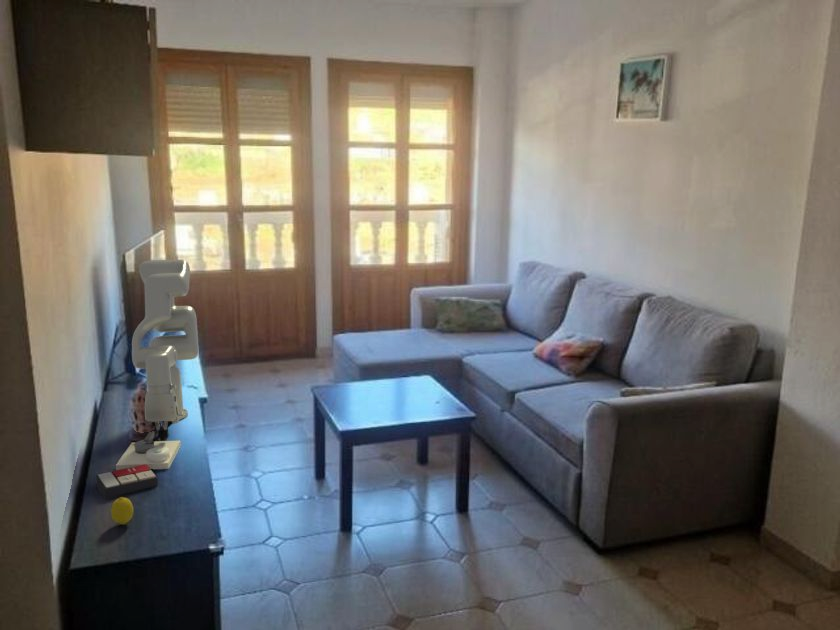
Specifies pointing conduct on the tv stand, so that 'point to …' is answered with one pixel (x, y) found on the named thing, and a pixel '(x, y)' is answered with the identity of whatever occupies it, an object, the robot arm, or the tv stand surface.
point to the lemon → (122, 510)
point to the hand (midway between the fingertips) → (163, 439)
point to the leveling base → (141, 458)
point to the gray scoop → (145, 444)
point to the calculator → (125, 481)
